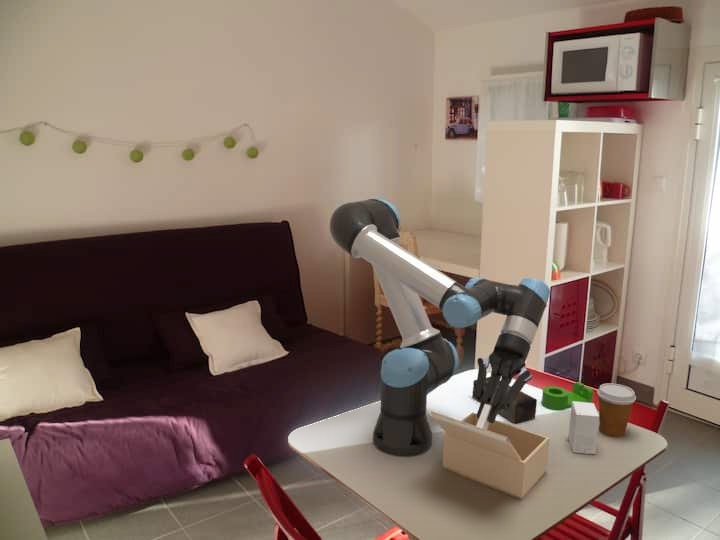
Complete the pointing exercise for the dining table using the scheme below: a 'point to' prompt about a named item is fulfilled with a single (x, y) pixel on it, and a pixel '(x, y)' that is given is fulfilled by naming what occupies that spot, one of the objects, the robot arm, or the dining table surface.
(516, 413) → the dark brown wooden block
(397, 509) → the dining table surface
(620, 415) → the disposable coffee cup
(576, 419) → the small box
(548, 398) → the tape dispenser
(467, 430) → the light wood flat panel
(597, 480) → the dining table surface
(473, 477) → the light wood open box
